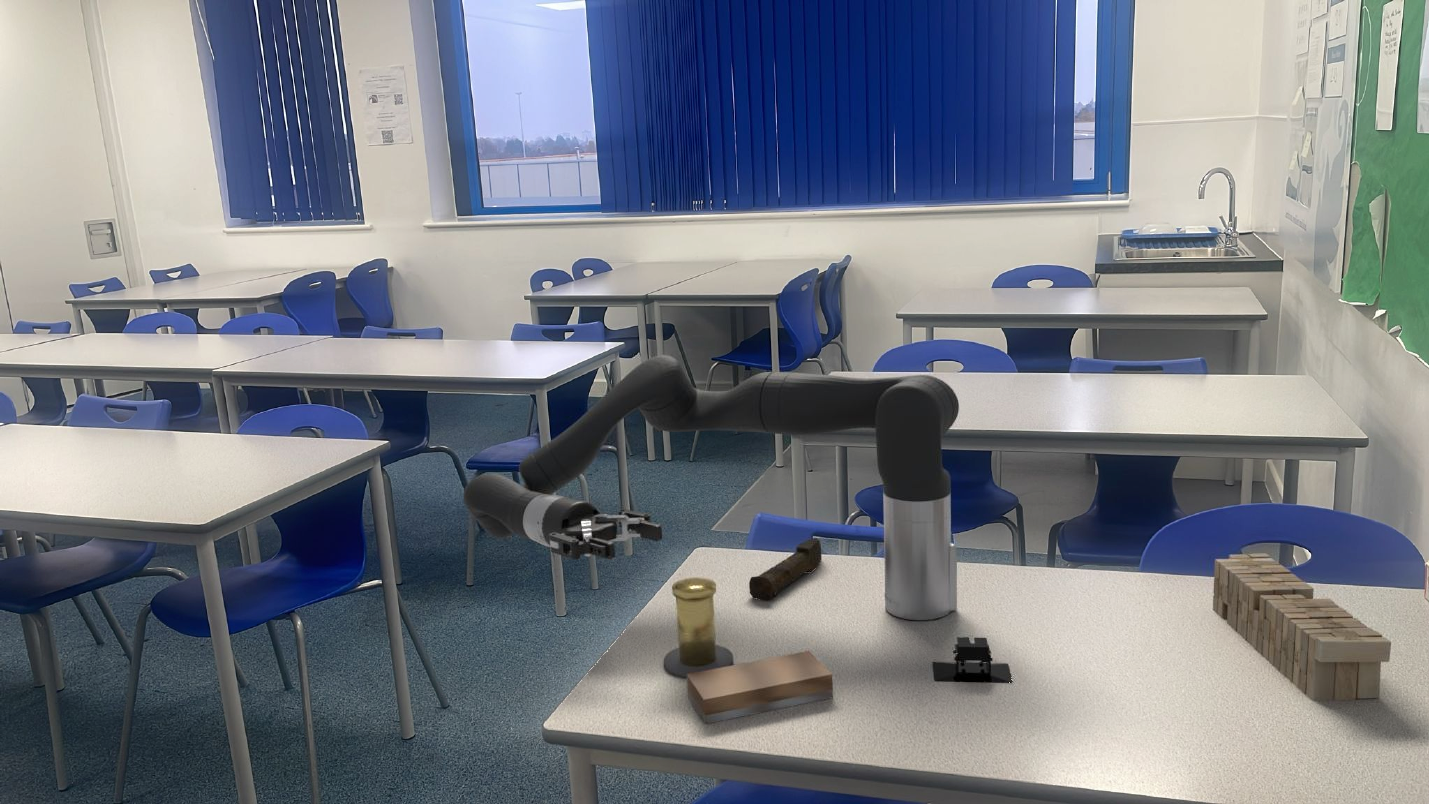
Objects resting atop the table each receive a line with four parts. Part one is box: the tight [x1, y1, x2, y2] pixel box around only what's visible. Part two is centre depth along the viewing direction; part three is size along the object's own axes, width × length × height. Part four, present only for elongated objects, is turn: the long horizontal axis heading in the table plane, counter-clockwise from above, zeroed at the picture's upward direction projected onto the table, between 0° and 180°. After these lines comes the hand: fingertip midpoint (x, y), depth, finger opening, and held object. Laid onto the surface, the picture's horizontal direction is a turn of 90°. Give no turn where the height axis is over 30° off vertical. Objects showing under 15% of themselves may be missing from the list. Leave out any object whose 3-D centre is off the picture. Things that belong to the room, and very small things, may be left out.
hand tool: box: [748, 537, 822, 602], centre depth 165 cm, size 19×4×5 cm, turn 143°
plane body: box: [686, 650, 834, 725], centre depth 128 cm, size 16×7×3 cm, turn 108°
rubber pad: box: [663, 644, 734, 679], centre depth 138 cm, size 9×9×1 cm
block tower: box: [1212, 553, 1392, 701], centre depth 133 cm, size 8×8×29 cm
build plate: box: [931, 636, 1014, 684], centre depth 132 cm, size 12×7×5 cm, turn 81°
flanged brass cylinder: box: [671, 576, 717, 667], centre depth 137 cm, size 6×6×10 cm
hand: (637, 542), depth 143 cm, fingers open, 8 cm apart
